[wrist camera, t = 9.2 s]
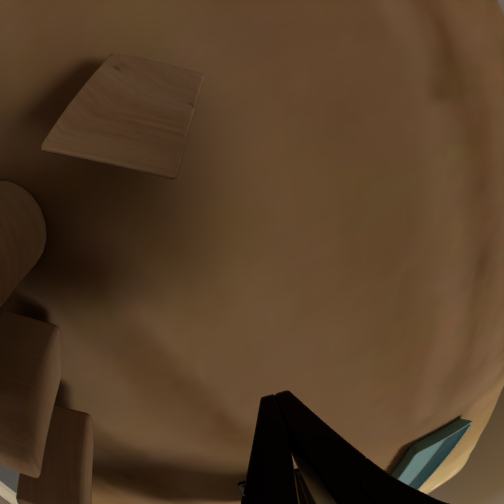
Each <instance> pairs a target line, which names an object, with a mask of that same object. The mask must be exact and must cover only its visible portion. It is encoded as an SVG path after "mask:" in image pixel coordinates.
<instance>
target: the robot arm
mask: <svg viewBox="0 0 504 504" xmlns="http://www.w3.org/2000/svg"><path fill="white" fill-rule="evenodd" d="M291 453H292V454H291ZM292 456H293V458H294V460H295V462H296V465H297V467H298V469H295V470H294V465H293V460H292ZM238 487H239V489H240V490H241V492H242V494H243V496H242V500H241V504H449V503H445V502H442V501H440V500H437V499H435V498H433V497H431V496H429V495H427V494H425V493H423V492H421V491H419V490H417V489H415V488H413V487H411V486H409V485H407V484H405V483H403V482H402V481H400V480H398V479H396V478H395V477H393V476H391V475H390V474H388V473H387V472H385V471H384V470H383V469H381V468H380V467H378V466H377V465H376V464H374V463H373V462H372V461H371V460H369V459H368V458H366V457H365V456H364V455H363V454H362V453H360V452H359V451H358V450H357V449H356V448H354V447H353V446H352V445H351V444H349V443H348V442H347V441H346V440H345V439H343V438H342V437H341V436H340V435H339V434H337V433H336V432H335V431H334V430H333V429H332V428H330V427H329V426H328V425H327V424H326V423H325V422H323V421H322V420H321V419H320V418H319V417H318V416H317V415H316V414H314V413H313V412H312V411H311V410H310V409H309V408H308V407H307V406H305V405H304V404H303V403H302V402H301V401H300V400H299V399H298V398H297V397H295V396H294V395H293V394H292V393H291V392H290V391H288V390H286V391H283V392H279V393H276V395H273V394H272V395H268V396H264V397H262V398H261V400H260V406H259V411H258V417H257V423H256V428H255V434H254V439H253V445H252V450H251V455H250V461H249V466H248V471H247V476H246V481H242V482H239V483H238Z"/></svg>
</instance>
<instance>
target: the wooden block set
mask: <svg viewBox="0 0 504 504" xmlns="http://www.w3.org/2000/svg"><path fill="white" fill-rule="evenodd" d="M203 79H204V75H203V74H201V73H198V72H194V71H191V70H187V69H183V68H179V67H176V66H172V65H168V64H164V63H159V62H155V61H150V60H146V59H141V58H136V57H131V56H126V55H120V54H114V53H113V54H111V55H110V56H109V57H108V58H107V59H106V60H105V61H104V62H103V63H102V65H101V66H100V67H99V68H98V69H97V70H96V71H95V72H94V74H93V75H92V76H91V77H90V78H89V80H88V81H87V82H86V83H85V84H84V86H83V87H82V88H81V89H80V91H79V92H78V93H77V94H76V96H75V97H74V98H73V100H72V101H71V102H70V104H69V105H68V106H67V108H66V109H65V110H64V112H63V113H62V114H61V116H60V117H59V119H58V120H57V122H56V123H55V124H54V126H53V127H52V129H51V130H50V132H49V133H48V135H47V136H46V138H45V140H44V141H43V143H42V144H41V147H40V148H41V150H42V151H45V152H51V153H56V154H61V155H66V156H71V157H76V158H81V159H86V160H90V161H95V162H100V163H104V164H109V165H113V166H118V167H122V168H127V169H131V170H135V171H139V172H144V173H148V174H152V175H156V176H160V177H164V178H168V179H175V178H176V177H177V175H178V172H179V167H180V163H181V159H182V155H183V151H184V147H185V143H186V139H187V135H188V131H189V128H190V124H191V120H192V117H193V113H194V110H195V106H196V103H197V99H198V96H199V92H200V89H201V86H202V83H203ZM45 243H46V223H45V220H44V217H43V214H42V211H41V208H40V207H39V205H38V204H37V202H36V201H35V199H34V198H33V196H32V195H30V194H29V193H28V192H27V191H26V190H25V189H24V188H22V187H21V186H19V185H17V184H14V183H12V182H9V181H0V308H1V307H2V305H3V304H4V303H5V301H6V300H7V299H8V297H9V296H10V295H11V293H12V292H13V291H14V290H15V288H16V287H17V286H18V285H19V283H20V282H21V281H22V280H23V278H24V277H25V276H26V275H27V274H28V272H29V271H30V270H31V269H32V268H33V266H34V265H35V264H36V263H37V261H38V260H39V258H40V257H41V255H42V254H43V251H44V247H45ZM61 377H62V362H61V346H60V330H59V327H58V326H57V325H54V324H51V323H47V322H43V321H40V320H36V319H33V318H30V317H26V316H23V315H20V314H16V313H13V312H10V311H2V313H1V314H0V465H1V466H3V467H6V468H8V469H11V470H14V471H16V472H19V473H20V474H19V480H18V486H17V494H16V500H17V503H18V504H92V465H93V449H94V440H93V429H92V419H91V416H90V415H89V414H87V413H84V412H80V411H76V410H71V409H67V408H63V407H60V406H56V405H54V403H55V399H56V395H57V391H58V388H59V384H60V380H61Z"/></svg>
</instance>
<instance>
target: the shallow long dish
mask: <svg viewBox="0 0 504 504" xmlns="http://www.w3.org/2000/svg"><path fill="white" fill-rule="evenodd" d="M472 423H473V421H470V420H465V419H458V420H457V421H455V422H454V423H452V424H450V425H448V426H447V427H445V428H443V429H441V430H440V431H438V432H436V433H434V434H432V435H430V436H428V437H426V438H424V439H422V440H420V441H418V442H416V443H414V444H413V445H412V446H411V447H410V449H409V450H408V452H407V453H406V455H405V456H404V457H403V459H402V460H401V462H400V463H399V465H398V466H397V467H396V469H395V470H394V471H393V473H392V474H391V476H393V477H395V478H396V479H398V480H400V481H402V482H403V483H405V484H407V485H409V486H411V487H413V488H415V489H417V490H418V489H419V488H420V487H421V486H422V485H423V484H424V483H425V482H426V481H427V480H428V478H429V477H430V476H431V475H432V474H433V473H434V472H435V471H436V470H437V468H438V467H439V466H440V465H441V464H442V463H443V461H444V460H445V459H446V458H447V457H448V455H449V454H450V453H451V452H452V450H453V449H454V448H455V447H456V445H457V444H458V443H459V441H460V440H461V439H462V437H463V436H464V434H465V433H466V432H467V430H468V429H469V427H470V426H471V424H472Z"/></svg>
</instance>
